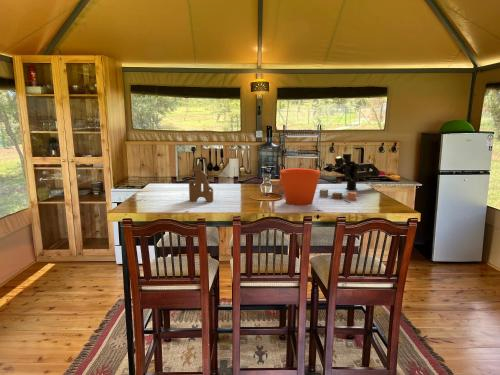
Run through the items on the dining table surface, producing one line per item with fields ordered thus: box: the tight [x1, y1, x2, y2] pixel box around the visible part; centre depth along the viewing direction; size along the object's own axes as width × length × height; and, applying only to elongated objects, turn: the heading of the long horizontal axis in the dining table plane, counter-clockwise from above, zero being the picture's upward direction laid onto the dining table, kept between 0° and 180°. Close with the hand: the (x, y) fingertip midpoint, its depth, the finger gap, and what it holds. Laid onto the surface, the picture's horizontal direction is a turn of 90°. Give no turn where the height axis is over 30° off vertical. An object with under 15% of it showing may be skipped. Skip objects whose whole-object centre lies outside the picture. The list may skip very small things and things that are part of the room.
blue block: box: [319, 188, 329, 198], centre depth 237 cm, size 4×4×4 cm
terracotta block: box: [347, 191, 357, 201], centre depth 227 cm, size 4×4×4 cm
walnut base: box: [330, 191, 344, 200], centre depth 231 cm, size 6×6×3 cm
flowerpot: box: [279, 167, 322, 207], centre depth 216 cm, size 25×25×20 cm
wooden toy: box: [188, 161, 214, 203], centre depth 219 cm, size 15×7×25 cm, turn 88°
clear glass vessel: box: [270, 175, 284, 195], centre depth 246 cm, size 21×6×12 cm, turn 85°
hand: (327, 169), depth 245 cm, fingers open, 9 cm apart
